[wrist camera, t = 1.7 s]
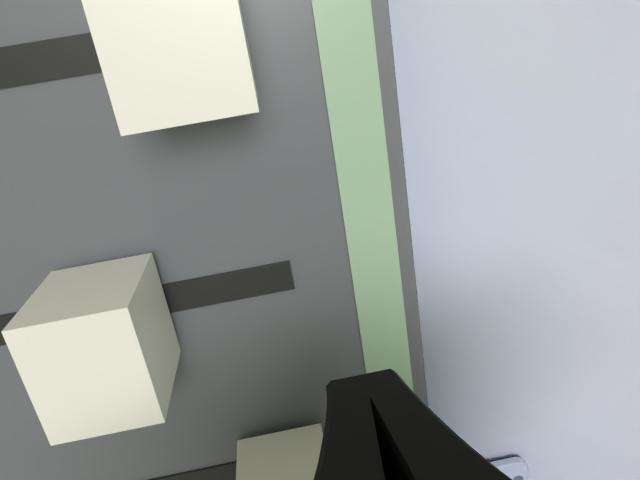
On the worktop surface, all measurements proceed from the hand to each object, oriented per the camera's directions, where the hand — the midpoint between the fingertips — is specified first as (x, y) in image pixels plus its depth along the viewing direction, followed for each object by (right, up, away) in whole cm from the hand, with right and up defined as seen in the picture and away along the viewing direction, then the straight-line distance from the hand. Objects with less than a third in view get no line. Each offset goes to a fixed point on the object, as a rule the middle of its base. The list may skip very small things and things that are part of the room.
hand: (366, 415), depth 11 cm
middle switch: (-7, +1, +6) cm, 9 cm away
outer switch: (-4, +9, +3) cm, 10 cm away
